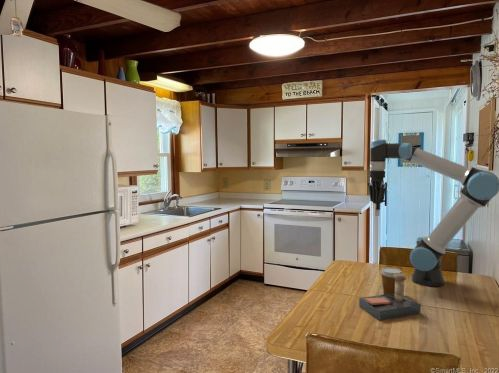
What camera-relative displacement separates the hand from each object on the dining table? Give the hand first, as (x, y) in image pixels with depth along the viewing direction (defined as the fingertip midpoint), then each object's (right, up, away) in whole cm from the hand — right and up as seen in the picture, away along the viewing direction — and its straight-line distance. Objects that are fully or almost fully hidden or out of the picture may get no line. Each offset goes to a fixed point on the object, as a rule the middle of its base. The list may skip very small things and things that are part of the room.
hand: (376, 215), depth 191 cm
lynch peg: (-1, -38, -32) cm, 49 cm away
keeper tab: (-11, -33, -35) cm, 50 cm away
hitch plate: (-6, -38, -33) cm, 51 cm away
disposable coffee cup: (+1, -36, -16) cm, 40 cm away
